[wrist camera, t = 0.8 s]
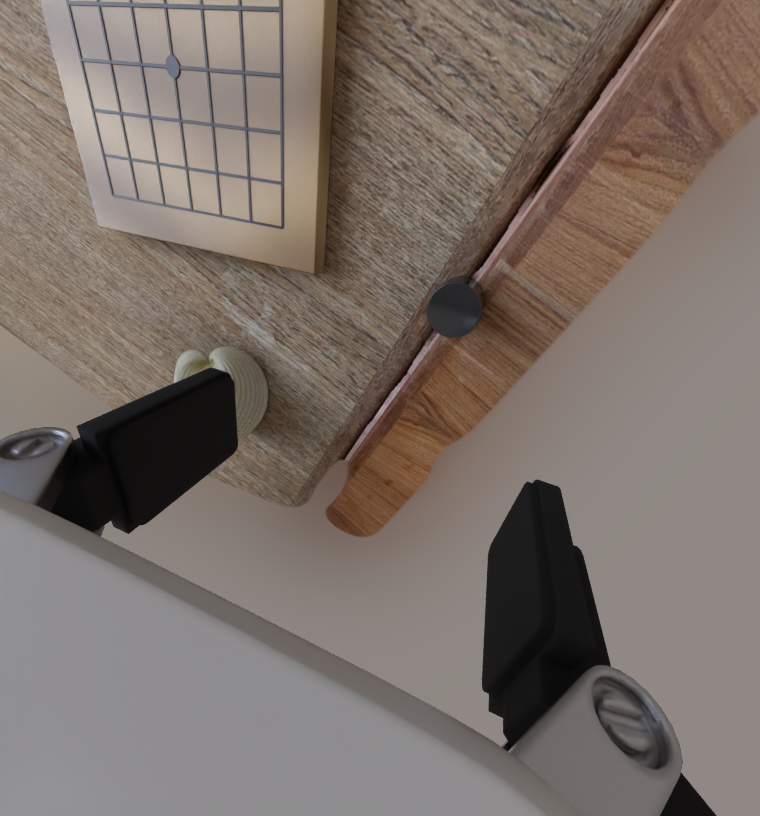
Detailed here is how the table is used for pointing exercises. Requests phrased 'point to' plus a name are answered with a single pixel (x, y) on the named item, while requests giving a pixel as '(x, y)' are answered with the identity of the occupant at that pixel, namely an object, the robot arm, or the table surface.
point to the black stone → (456, 307)
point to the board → (204, 119)
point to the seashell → (244, 374)
